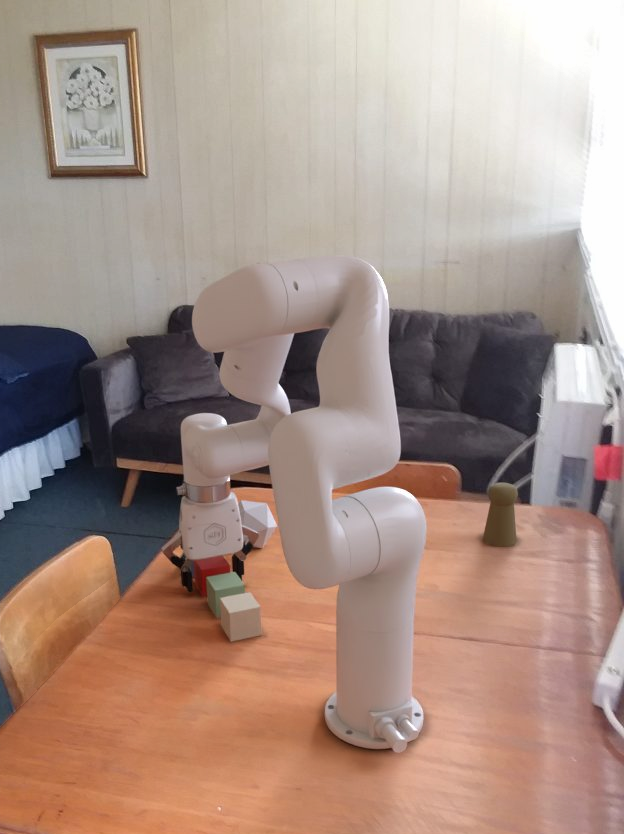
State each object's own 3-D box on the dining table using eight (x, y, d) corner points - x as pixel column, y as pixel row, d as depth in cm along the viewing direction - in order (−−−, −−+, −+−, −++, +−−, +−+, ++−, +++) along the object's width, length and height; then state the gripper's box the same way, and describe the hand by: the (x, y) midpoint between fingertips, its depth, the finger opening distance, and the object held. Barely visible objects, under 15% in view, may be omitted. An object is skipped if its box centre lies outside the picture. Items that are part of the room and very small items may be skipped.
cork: (482, 545, 155) (485, 489, 151) (483, 531, 160) (486, 478, 156) (516, 548, 153) (521, 492, 149) (516, 534, 158) (520, 480, 155)
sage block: (246, 612, 135) (244, 584, 134) (216, 618, 134) (214, 590, 132) (236, 598, 140) (235, 571, 138) (207, 604, 138) (205, 576, 137)
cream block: (261, 635, 129) (260, 606, 127) (230, 642, 127) (229, 613, 126) (251, 619, 133) (249, 591, 131) (221, 626, 132) (219, 597, 130)
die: (227, 537, 164) (212, 512, 156) (262, 509, 166) (249, 482, 158) (253, 565, 159) (239, 540, 151) (289, 535, 161) (277, 509, 153)
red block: (231, 591, 142) (229, 564, 141) (202, 596, 141) (201, 570, 139) (222, 578, 147) (221, 552, 145) (194, 583, 145) (193, 557, 144)
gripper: (161, 505, 132) (169, 604, 138) (265, 488, 137) (268, 584, 142) (150, 489, 138) (158, 584, 144) (250, 473, 143) (253, 565, 149)
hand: (213, 583), depth 143 cm, fingers open, 8 cm apart
